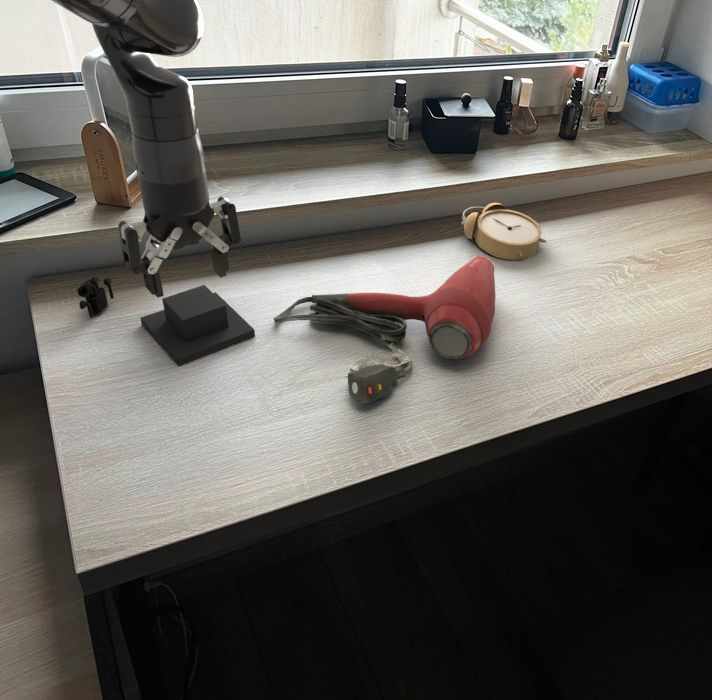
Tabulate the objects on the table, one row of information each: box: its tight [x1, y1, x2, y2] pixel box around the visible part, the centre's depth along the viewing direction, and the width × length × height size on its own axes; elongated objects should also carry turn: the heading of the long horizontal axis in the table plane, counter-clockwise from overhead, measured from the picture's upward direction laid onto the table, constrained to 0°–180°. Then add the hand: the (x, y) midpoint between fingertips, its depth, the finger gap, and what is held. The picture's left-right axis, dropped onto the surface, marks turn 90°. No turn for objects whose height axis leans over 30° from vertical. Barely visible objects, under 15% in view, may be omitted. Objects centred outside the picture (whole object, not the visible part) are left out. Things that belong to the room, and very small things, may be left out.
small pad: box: [161, 284, 229, 342], centre depth 97 cm, size 6×6×4 cm
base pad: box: [140, 292, 256, 367], centre depth 98 cm, size 11×11×3 cm
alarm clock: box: [461, 202, 547, 261], centre depth 125 cm, size 11×5×15 cm
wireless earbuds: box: [77, 276, 115, 319], centre depth 99 cm, size 7×2×5 cm, turn 170°
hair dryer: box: [272, 255, 497, 404], centre depth 101 cm, size 33×25×9 cm
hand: (189, 284), depth 94 cm, fingers open, 8 cm apart
